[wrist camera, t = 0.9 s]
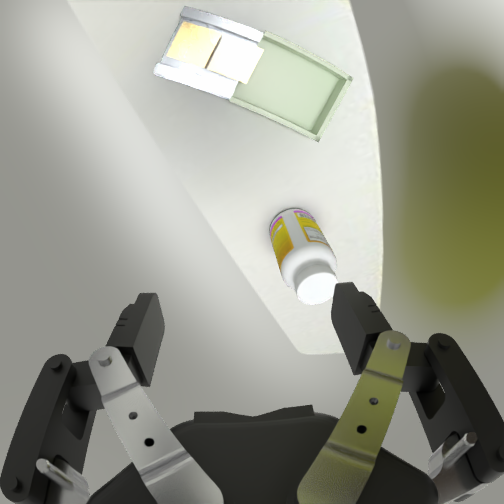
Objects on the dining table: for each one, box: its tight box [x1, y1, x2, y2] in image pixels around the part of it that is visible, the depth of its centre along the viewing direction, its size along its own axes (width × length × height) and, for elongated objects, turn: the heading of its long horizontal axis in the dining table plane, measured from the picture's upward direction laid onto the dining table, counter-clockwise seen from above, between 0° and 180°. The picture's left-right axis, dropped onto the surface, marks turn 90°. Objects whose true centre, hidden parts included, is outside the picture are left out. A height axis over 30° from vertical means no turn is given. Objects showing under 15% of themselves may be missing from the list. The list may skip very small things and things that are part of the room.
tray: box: [229, 31, 353, 142], centre depth 28 cm, size 11×9×3 cm
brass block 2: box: [208, 35, 263, 84], centre depth 24 cm, size 4×4×4 cm
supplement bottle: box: [270, 209, 338, 305], centre depth 35 cm, size 7×7×13 cm
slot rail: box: [153, 6, 264, 100], centre depth 25 cm, size 9×9×2 cm
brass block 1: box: [167, 21, 222, 69], centre depth 23 cm, size 4×4×4 cm
